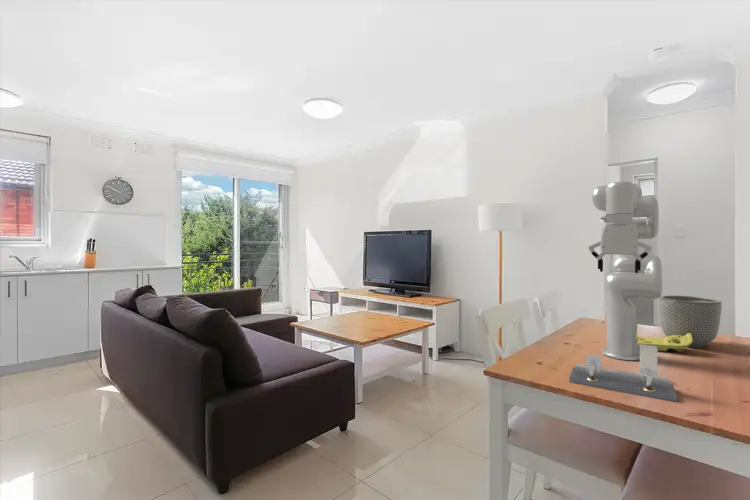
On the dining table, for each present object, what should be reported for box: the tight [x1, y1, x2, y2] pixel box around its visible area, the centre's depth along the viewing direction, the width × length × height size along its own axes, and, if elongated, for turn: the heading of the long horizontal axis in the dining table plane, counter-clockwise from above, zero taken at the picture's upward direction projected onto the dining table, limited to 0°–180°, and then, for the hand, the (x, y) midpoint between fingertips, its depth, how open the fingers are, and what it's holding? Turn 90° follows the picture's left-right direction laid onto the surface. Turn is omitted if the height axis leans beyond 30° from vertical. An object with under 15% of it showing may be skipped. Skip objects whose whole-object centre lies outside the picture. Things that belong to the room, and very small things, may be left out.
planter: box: [658, 294, 723, 349], centre depth 153 cm, size 20×20×19 cm
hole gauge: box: [568, 353, 678, 403], centre depth 112 cm, size 26×10×7 cm, turn 56°
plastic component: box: [637, 333, 693, 353], centre depth 148 cm, size 20×7×10 cm
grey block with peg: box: [639, 344, 658, 388], centre depth 108 cm, size 4×8×10 cm, turn 146°
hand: (618, 272), depth 122 cm, fingers open, 9 cm apart
